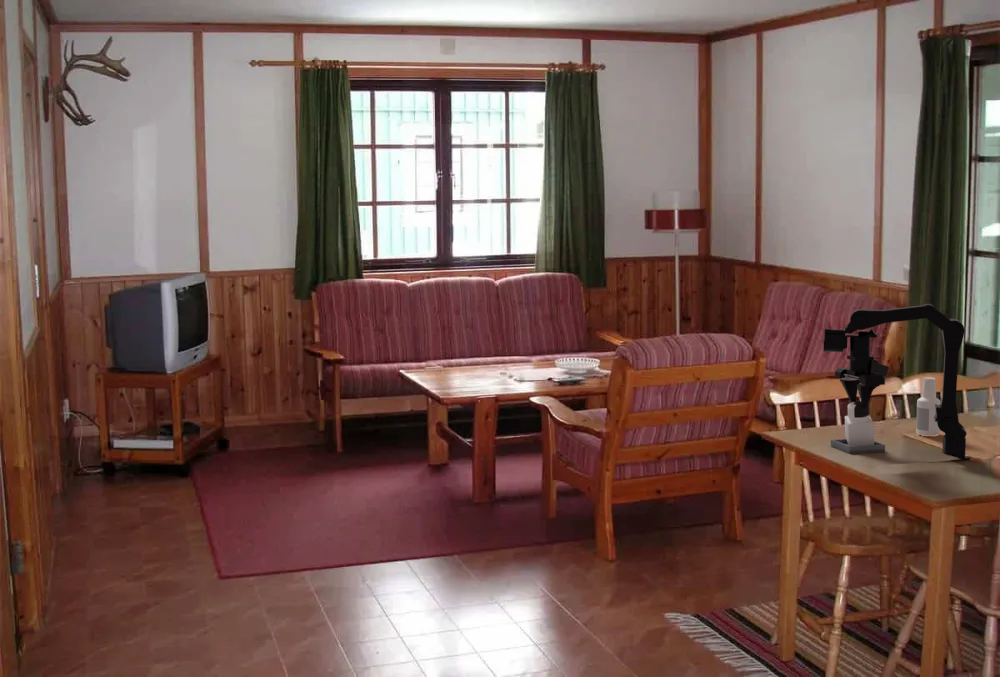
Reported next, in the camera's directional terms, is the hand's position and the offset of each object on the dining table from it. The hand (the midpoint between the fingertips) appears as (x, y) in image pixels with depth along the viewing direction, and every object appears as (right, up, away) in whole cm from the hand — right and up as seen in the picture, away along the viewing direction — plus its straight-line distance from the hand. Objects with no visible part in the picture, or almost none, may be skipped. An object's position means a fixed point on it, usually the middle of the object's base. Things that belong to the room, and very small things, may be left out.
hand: (859, 405), depth 347 cm
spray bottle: (+27, -11, +21) cm, 36 cm away
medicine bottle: (+1, -11, +3) cm, 11 cm away
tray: (0, -13, +1) cm, 13 cm away
